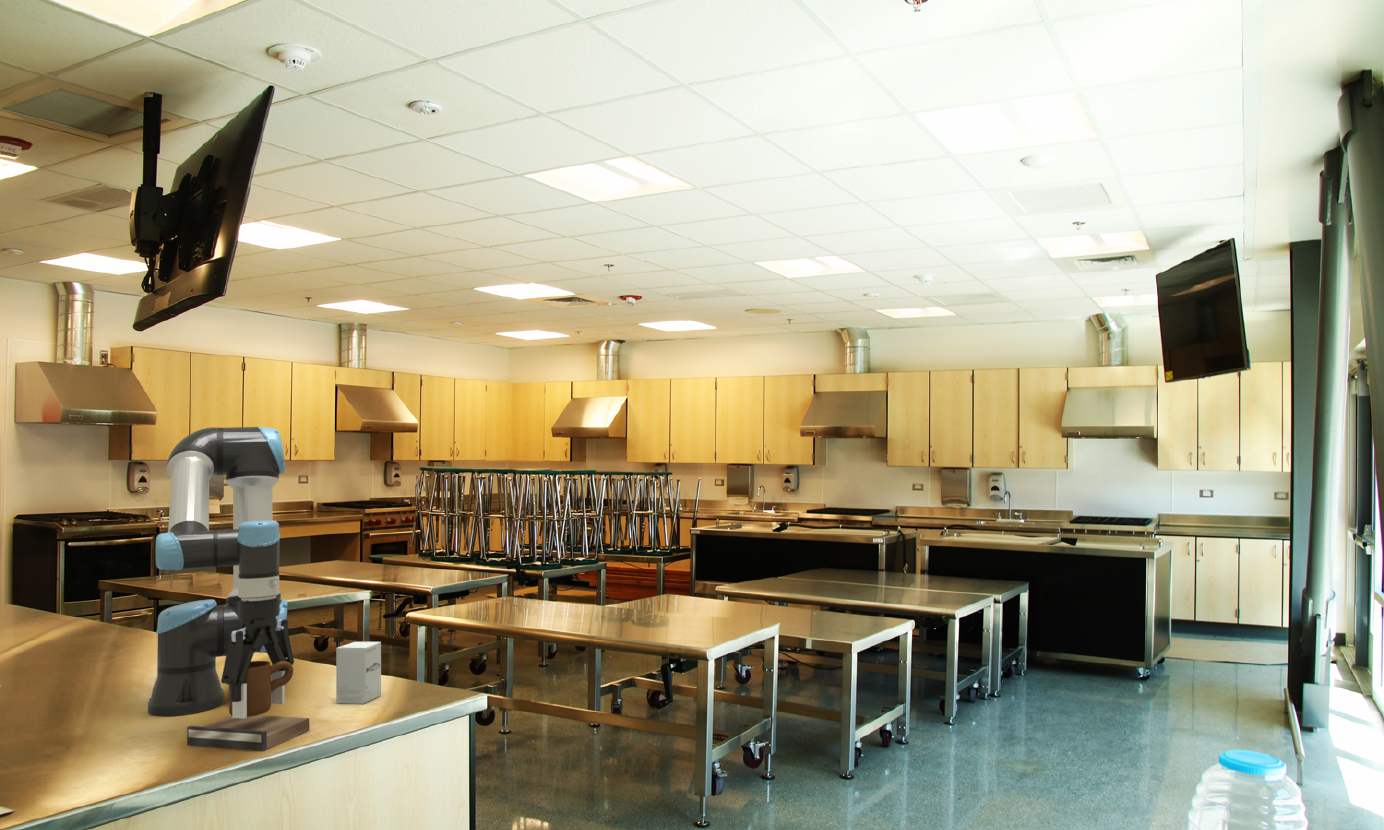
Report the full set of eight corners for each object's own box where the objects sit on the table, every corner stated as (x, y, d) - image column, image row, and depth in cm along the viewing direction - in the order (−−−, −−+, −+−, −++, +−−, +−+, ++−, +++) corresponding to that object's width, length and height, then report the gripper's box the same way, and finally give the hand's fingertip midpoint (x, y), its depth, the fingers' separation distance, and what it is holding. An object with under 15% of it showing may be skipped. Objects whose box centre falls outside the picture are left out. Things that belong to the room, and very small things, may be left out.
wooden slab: (186, 745, 175) (186, 726, 175) (236, 725, 187) (236, 708, 188) (263, 750, 170) (263, 732, 170) (309, 730, 183) (309, 713, 183)
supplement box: (364, 704, 202) (364, 647, 202) (335, 703, 203) (334, 647, 204) (382, 695, 209) (382, 641, 209) (353, 694, 210) (353, 640, 211)
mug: (288, 700, 186) (288, 655, 187) (299, 708, 180) (298, 660, 181) (224, 712, 179) (224, 664, 179) (233, 720, 173) (233, 671, 173)
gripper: (231, 607, 168) (231, 727, 167) (312, 589, 190) (313, 696, 189) (199, 606, 170) (199, 725, 169) (283, 589, 192) (283, 694, 191)
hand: (259, 710), depth 179 cm, fingers closed on mug, 10 cm apart
